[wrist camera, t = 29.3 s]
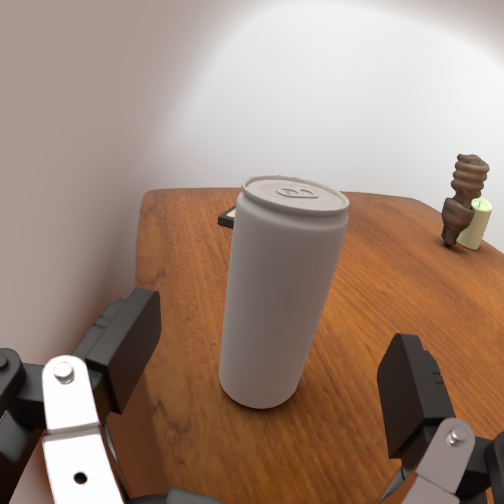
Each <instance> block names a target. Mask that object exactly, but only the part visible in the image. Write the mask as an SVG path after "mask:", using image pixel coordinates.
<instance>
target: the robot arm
mask: <svg viewBox="0 0 504 504" xmlns="http://www.w3.org/2000/svg"><path fill="white" fill-rule="evenodd" d="M160 335H161V311H160V295H159V292H157V291H153V290H148V289H144V288H140V287H136V288H135V289H134V290H133V292H132V293H131V295H130V296H129V297H128V298H127V300H126V299H122V298H120V299H118V300H116V301H115V302H113V303H111V304H110V305H108V307H107V308H106V309H105V310H104V311H103V313H102V314H101V315H100V317H99V318H98V319H97V320H96V322H95V323H94V326H93V325H92V327H91V328H90V329H89V330H88V332H87V333H86V334H85V336H84V337H83V338H82V340H81V341H80V342H79V344H78V345H77V346H76V347H75V349H74V350H73V351H72V353H71V354H70V355H62V356H59V357H55V358H53V359H52V360H50V361H49V362H48V363H47V364H46V365H35V364H27V363H22V361H21V359H20V357H19V355H18V354H17V352H16V351H14V350H12V349H9V348H1V349H0V419H1V417H2V416H3V414H4V412H5V411H6V410H7V411H6V413H5V414H4V416H3V418H2V419H1V421H0V504H9V501H10V499H11V497H12V495H13V493H14V490H15V488H16V486H17V484H18V482H19V479H20V477H21V475H22V473H23V471H24V469H25V466H26V465H27V463H28V461H29V459H30V456H31V455H32V452H33V450H34V448H35V447H36V444H37V443H38V441H39V438H40V437H41V435H42V433H43V431H44V429H47V434H44V435H43V438H42V442H43V449H44V456H45V461H46V467H47V471H48V476H49V481H50V486H51V490H52V494H53V498H54V502H55V504H227V503H225V502H222V501H220V500H218V499H215V498H213V497H210V496H206V495H201V494H197V493H193V492H189V491H185V490H181V489H177V488H173V487H170V490H169V493H168V494H155V495H146V496H141V497H136V498H134V497H133V495H132V492H131V490H130V487H129V485H128V483H127V480H126V478H125V476H124V474H123V472H122V469H121V466H120V463H119V460H118V458H117V455H116V451H115V448H114V445H113V442H112V439H111V436H110V432H109V429H108V426H107V423H106V418H107V416H108V414H109V413H110V411H112V412H115V413H118V414H120V415H121V414H122V412H123V410H124V408H125V406H126V404H127V402H128V400H129V398H130V396H131V394H132V392H133V390H134V389H135V387H136V384H137V382H138V381H139V379H140V377H141V375H142V373H143V371H144V369H145V367H146V365H147V363H148V361H149V359H150V358H151V356H152V354H153V352H154V350H155V348H156V346H157V344H158V342H159V339H160ZM440 373H441V372H440V370H439V367H438V364H437V362H436V360H435V359H434V358H433V357H432V355H431V354H430V353H429V352H428V351H424V349H423V347H422V344H421V342H420V339H419V337H418V336H417V335H411V334H402V333H397V334H395V335H394V337H393V339H392V341H391V343H390V345H389V347H388V349H387V351H386V353H385V355H384V357H383V359H382V361H381V363H380V365H379V368H378V372H377V384H378V389H379V395H380V401H381V407H382V413H383V419H384V425H385V432H386V439H387V447H388V454H389V459H396V458H401V460H402V465H401V466H400V467H399V468H398V469H397V471H396V472H395V474H394V475H393V477H392V478H391V480H390V481H389V483H388V484H387V485H386V487H385V488H384V490H383V491H382V492H381V494H380V495H379V497H378V498H377V499H376V501H375V502H374V503H373V504H488V503H487V497H486V490H487V489H488V488H490V487H491V488H492V493H493V499H494V504H504V431H503V432H501V433H500V434H498V435H497V436H496V437H495V438H494V439H493V440H489V439H485V438H481V437H477V436H475V434H474V432H473V430H472V428H471V427H470V426H469V424H467V423H466V422H465V421H463V420H461V419H459V418H456V416H455V413H454V410H453V407H452V404H451V401H450V398H449V395H448V392H447V389H446V386H445V385H444V381H443V378H442V375H440Z"/></svg>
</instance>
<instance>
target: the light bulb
mask: <svg viewBox="0 0 504 504" xmlns="http://www.w3.org/2000/svg"><path fill="white" fill-rule="evenodd" d="M457 159H458V162H456V164H455V168H456V171H455V172H454V173H453V177H454V180H453V181H451V187H452V188H453V189H454V190H455V191H456V195H455V196H454V197H453V198H446V200H445V202H444V206H443V210H442V219H443V223H444V227H443V232H442V235H441V236H442V238H443V240H444V241H445V245H446V246H448V247H451V246H452V245H455V244H456V240H457V238H458V237H459V235H460V233H461V232H462V231H464V230H465V229H466V228H468V227H469V226H470V224H471V222H472V219H473V217H474V214H475V210H474V208H473V206H472V205H471V203H472V200H473V199H477V198H480V196H481V191H480V190H482V189H483V187H484V184H483V181H485V180H486V179H487V174H486V173H487V172H488V171H489V165H488V164H486V163H485V162H484V161H482V160H481V159H480V158H479V157H478V156H476V155H462V154H459V155H458V156H457Z"/></svg>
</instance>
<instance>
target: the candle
mask: <svg viewBox="0 0 504 504" xmlns="http://www.w3.org/2000/svg"><path fill="white" fill-rule="evenodd" d="M471 205H472V206H473V208H474V210H475V214H474V217H473V219H472V222H471V224H470V226H469V227H468V228H466V229H465V230H464V231H462V232H461V233H460V235H459V237H458V238H457V240H456V241H457V242H458V243H459V244H461V245H462V246H464V247H466V248H469V249H472V250H477V249H478V248H479V245H480V242H481V240H482V237H483V234H484V231H485V229H486V226H487V223H488V220H489V217H490V214H491V211H492V205H491V204H490V203H489V202H488V201H487V200H485V199H483V198H481V197H480V198H477V199H473V200H472V203H471Z"/></svg>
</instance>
